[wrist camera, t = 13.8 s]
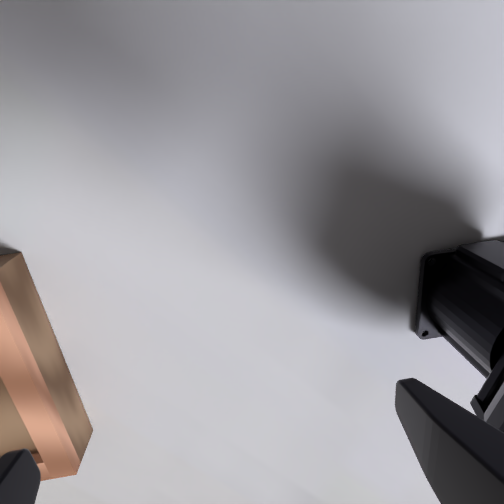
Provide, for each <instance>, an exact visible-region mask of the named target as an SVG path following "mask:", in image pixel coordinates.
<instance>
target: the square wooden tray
mask: <svg viewBox="0 0 504 504" xmlns="http://www.w3.org/2000/svg"><path fill="white" fill-rule="evenodd" d="M92 432H93V429H92V426H91V424H90V421H89V419H88V416H87V414H86V411H85V409H84V406H83V404H82V401H81V399H80V396H79V394H78V391H77V389H76V387H75V384H74V382H73V379H72V377H71V374H70V372H69V369H68V367H67V364H66V362H65V359H64V357H63V354H62V352H61V349H60V347H59V344H58V342H57V339H56V337H55V334H54V332H53V329H52V327H51V325H50V322H49V320H48V317H47V315H46V312H45V310H44V307H43V305H42V302H41V300H40V297H39V295H38V292H37V290H36V287H35V285H34V282H33V280H32V277H31V275H30V272H29V270H28V268H27V265H26V263H25V260H24V258H23V255H22V253H21V252H20V253H13V254H6V255H0V458H1V457H2V456H3V455H4V454H5V453H7V452H9V451H12V450H18V449H23V448H25V449H28V450H29V451H30V452H31V454H32V456H33V458H34V460H35V462H36V464H37V466H38V467H39V469H40V473H41V480H40V481H43V480H49V479H54V478H60V477H65V476H71V475H76V474H77V471H78V469H79V466H80V463H81V461H82V458H83V456H84V453H85V450H86V448H87V445H88V442H89V440H90V437H91V435H92Z"/></svg>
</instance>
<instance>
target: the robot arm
mask: <svg viewBox="0 0 504 504" xmlns="http://www.w3.org/2000/svg"><path fill="white" fill-rule="evenodd" d="M430 259H432V261H431V262H430V263H428V262H429V260H430ZM423 331H425V332H423ZM422 332H423V333H422ZM415 333H416V335H417V336H418V337H419V338H420V339H430V338H436V337H442V336H443V337H444V338H445V339H446V340H447V341H448V342H449V343H450V344H451V345H452V346H453V347H454V348H455V349H456V350H457V351H458V352H460V353H461V354H462V355H463V356H464V357H465V358H466V359H467V360H468V361H469V362H470V363H471V364H472V365H473V366H474V367H475V368H476V369H477V370H478V371H479V372H480V373H481V374H482V375H483V376H484V377H485V378H486V381H485V383H484V384H483V386H482V388H481V390H480V391H479V393H478V395H475V396H474V397H473V399H472V401H471V402H470V404H471V406H472V408H473V410H474V412H475V414H476V415H477V416H476V415H474V414H472V413H471V412H469V411H467V410H466V409H464V408H463V407H461V406H459V405H458V404H456V403H454V402H453V401H451V400H449V399H448V398H446V397H444V396H443V395H441V394H440V393H438V392H436V391H435V390H433V389H431V388H430V387H428V386H426V385H425V384H423V383H422V382H420V381H418V380H417V379H414V378H408V379H402V380H399V381H397V383H396V395H395V408H396V412H397V415H398V417H399V419H400V421H401V424H402V426H403V428H404V430H405V432H406V435H407V437H408V439H409V441H410V443H411V446H412V448H413V450H414V452H415V454H416V457H417V459H418V461H419V463H420V465H421V468H422V470H423V472H424V474H425V476H426V478H427V480H428V482H429V484H430V485H431V487H432V489H433V491H434V492H435V494H436V496H437V498H438V499H439V501H440V503H441V504H504V241H501V242H500V241H497V240H492V241H485V242H478V243H472V244H465V245H460V246H458V247H456V248H455V249H448V250H441V251H435V252H429V253H426V254H425V255H423V257H422V259H421V267H420V279H419V291H418V303H417V316H416V328H415ZM40 480H41V473H40V469H39V467H38V466H37V464H36V462H35V460H34V458H33V456H32V454H31V452H30V451H29V450H28V449H25V448H23V449H18V450H12V451H9V452H7V453H5V454H4V455H3V456H2V457H1V458H0V504H35V500H36V496H37V492H38V489H39V485H40Z"/></svg>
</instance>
